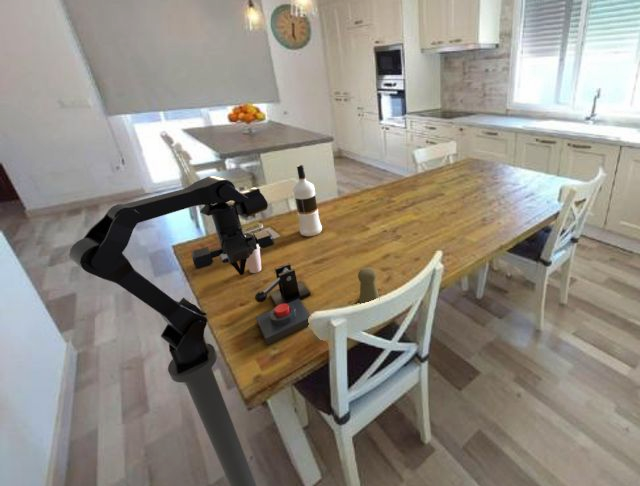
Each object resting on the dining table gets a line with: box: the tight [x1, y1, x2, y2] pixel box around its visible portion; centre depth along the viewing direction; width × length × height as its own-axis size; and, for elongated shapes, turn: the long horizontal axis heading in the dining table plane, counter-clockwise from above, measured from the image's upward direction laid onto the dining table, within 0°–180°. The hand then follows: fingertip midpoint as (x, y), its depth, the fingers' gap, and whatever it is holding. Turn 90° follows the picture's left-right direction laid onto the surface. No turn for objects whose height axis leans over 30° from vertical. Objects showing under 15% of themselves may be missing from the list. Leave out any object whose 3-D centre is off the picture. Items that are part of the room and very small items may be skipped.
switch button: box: [274, 304, 290, 317], centre depth 87 cm, size 4×4×2 cm
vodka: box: [292, 164, 323, 237], centre depth 133 cm, size 9×9×30 cm
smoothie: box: [244, 235, 262, 274], centre depth 110 cm, size 6×6×14 cm
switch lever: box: [254, 267, 289, 303], centre depth 96 cm, size 12×3×3 cm, turn 128°
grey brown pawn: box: [357, 266, 380, 305], centre depth 95 cm, size 6×6×11 cm
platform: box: [242, 221, 281, 240], centre depth 133 cm, size 12×18×7 cm, turn 136°
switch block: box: [255, 299, 311, 345], centre depth 88 cm, size 12×10×4 cm
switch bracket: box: [268, 263, 311, 307], centre depth 98 cm, size 10×8×10 cm
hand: (242, 274), depth 89 cm, fingers closed
